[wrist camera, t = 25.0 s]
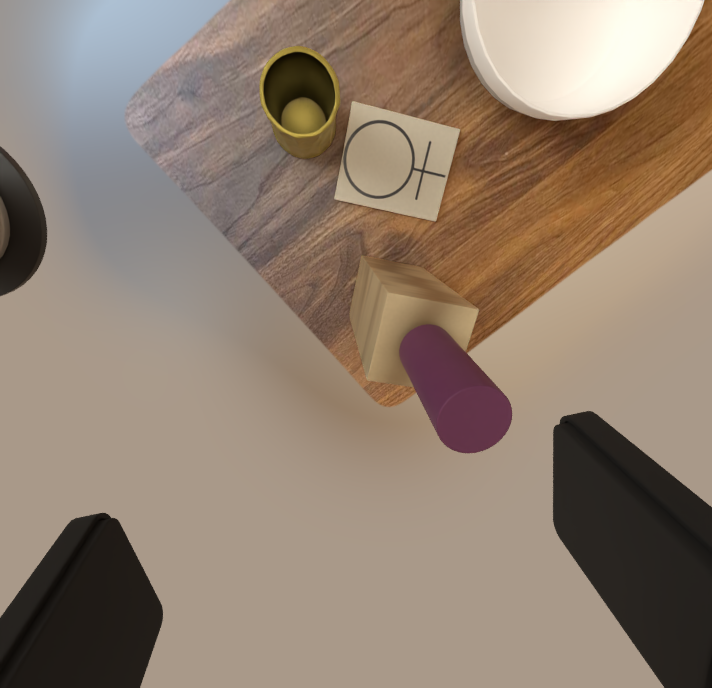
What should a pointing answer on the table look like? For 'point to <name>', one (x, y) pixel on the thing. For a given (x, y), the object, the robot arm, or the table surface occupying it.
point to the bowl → (572, 50)
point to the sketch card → (395, 162)
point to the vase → (300, 100)
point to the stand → (401, 314)
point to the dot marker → (454, 390)
